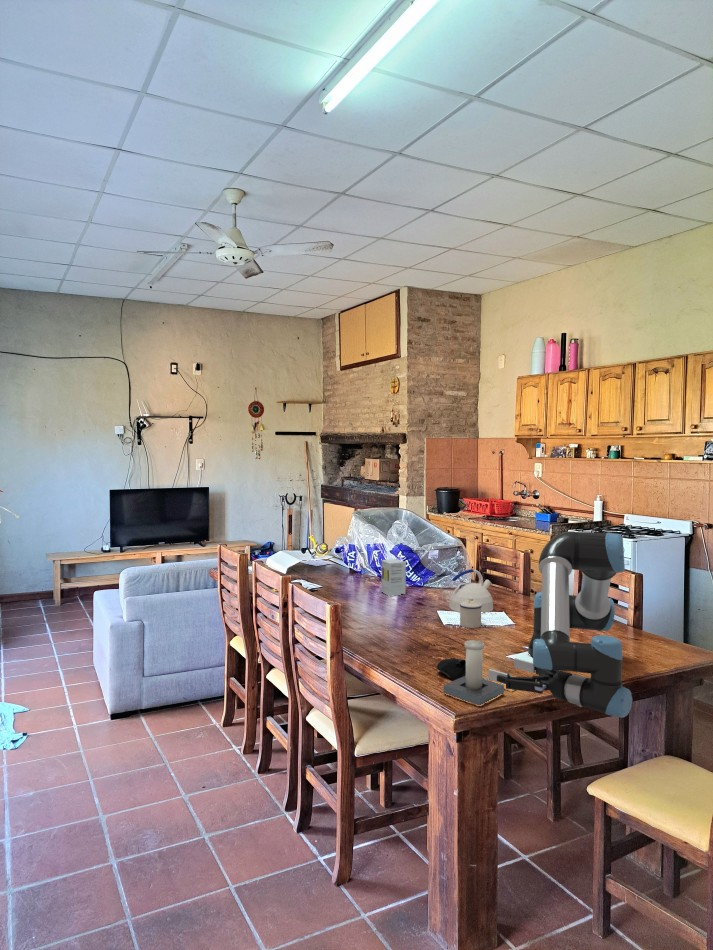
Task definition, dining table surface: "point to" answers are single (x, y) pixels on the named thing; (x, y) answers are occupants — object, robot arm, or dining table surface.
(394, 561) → the supplement box
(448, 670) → the rock
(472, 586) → the kettle
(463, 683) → the housing
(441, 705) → the dining table surface
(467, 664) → the cream upright pillar
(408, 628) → the dining table surface
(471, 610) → the teacup with lid
